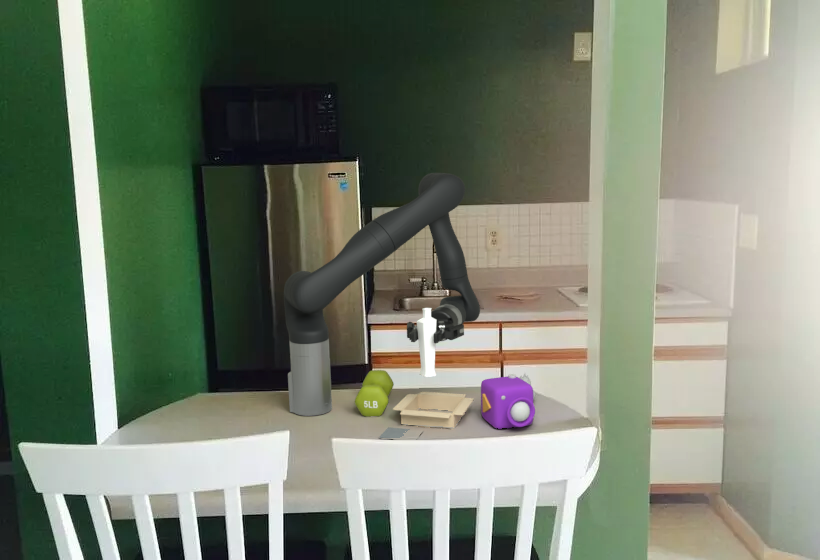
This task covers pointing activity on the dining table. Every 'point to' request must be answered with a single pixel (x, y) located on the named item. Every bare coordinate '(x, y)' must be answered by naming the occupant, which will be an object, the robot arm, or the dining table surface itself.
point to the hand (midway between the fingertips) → (423, 338)
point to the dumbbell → (374, 393)
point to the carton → (433, 401)
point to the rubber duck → (526, 379)
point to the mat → (393, 433)
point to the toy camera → (507, 402)
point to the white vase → (427, 343)
